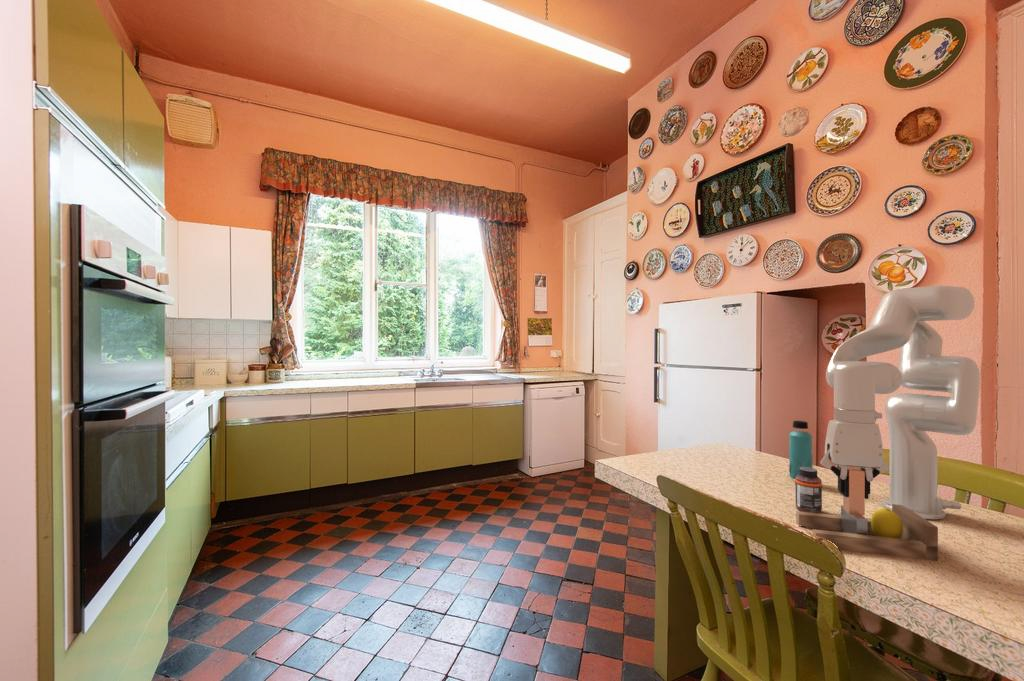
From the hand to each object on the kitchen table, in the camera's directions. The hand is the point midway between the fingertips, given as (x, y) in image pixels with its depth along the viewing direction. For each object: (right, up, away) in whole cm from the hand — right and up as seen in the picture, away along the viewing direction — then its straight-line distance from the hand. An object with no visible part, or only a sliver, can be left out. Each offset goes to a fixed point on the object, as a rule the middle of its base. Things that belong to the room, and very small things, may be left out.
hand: (853, 495), depth 101 cm
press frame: (+1, -10, 0) cm, 10 cm away
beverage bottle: (+15, -11, +41) cm, 44 cm away
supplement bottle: (+1, -11, +17) cm, 20 cm away
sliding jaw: (0, -10, 0) cm, 10 cm away
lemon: (+6, -10, -2) cm, 12 cm away
